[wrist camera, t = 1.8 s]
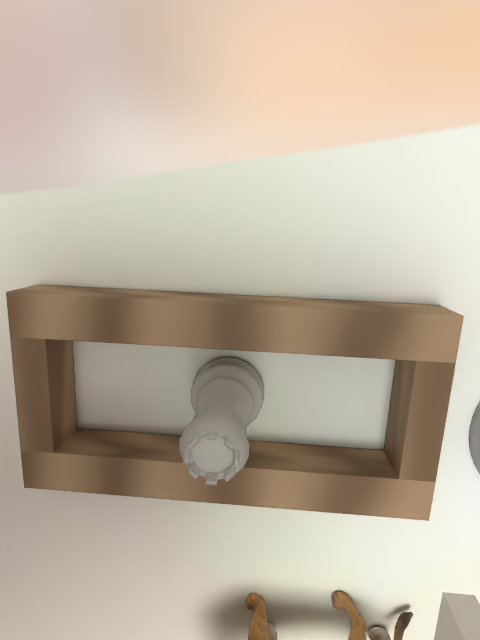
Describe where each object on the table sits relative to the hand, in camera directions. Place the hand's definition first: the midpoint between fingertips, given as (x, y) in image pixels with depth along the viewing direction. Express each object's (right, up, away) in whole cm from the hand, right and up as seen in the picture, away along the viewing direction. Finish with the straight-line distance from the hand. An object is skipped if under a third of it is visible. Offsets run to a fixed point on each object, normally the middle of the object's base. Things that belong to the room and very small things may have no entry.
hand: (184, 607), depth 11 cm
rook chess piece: (+1, +3, +15) cm, 15 cm away
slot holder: (+1, +3, +14) cm, 15 cm away
